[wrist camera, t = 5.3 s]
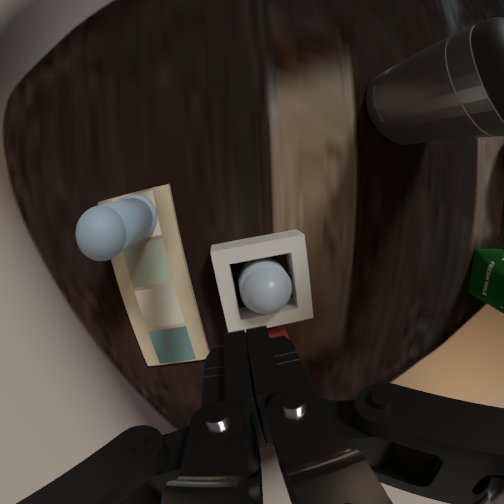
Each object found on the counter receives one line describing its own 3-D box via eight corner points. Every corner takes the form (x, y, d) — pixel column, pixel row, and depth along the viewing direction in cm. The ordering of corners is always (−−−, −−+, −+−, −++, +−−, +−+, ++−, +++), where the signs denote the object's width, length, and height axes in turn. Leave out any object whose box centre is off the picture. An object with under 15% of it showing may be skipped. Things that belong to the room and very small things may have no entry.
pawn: (152, 190, 27) (112, 196, 16) (161, 234, 28) (128, 265, 17) (111, 200, 27) (56, 212, 16) (121, 243, 28) (72, 276, 17)
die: (283, 324, 33) (291, 342, 29) (292, 350, 34) (300, 369, 30) (250, 336, 33) (254, 355, 29) (261, 361, 34) (266, 381, 30)
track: (169, 184, 28) (168, 184, 27) (210, 354, 33) (210, 358, 32) (100, 201, 27) (97, 202, 27) (149, 362, 32) (147, 366, 32)
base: (296, 229, 30) (304, 234, 27) (306, 306, 32) (313, 317, 30) (211, 245, 30) (210, 252, 27) (228, 321, 32) (229, 335, 29)
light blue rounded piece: (281, 252, 30) (294, 267, 25) (288, 295, 31) (300, 318, 26) (234, 261, 30) (236, 278, 24) (243, 305, 31) (247, 329, 26)
